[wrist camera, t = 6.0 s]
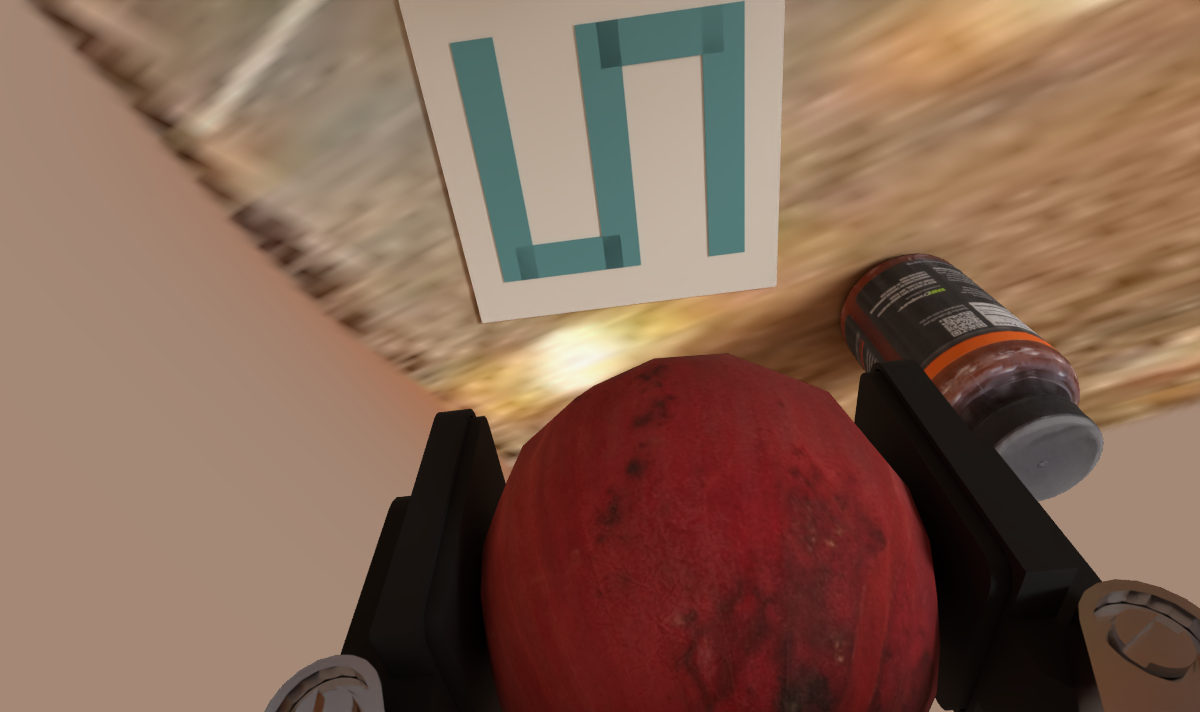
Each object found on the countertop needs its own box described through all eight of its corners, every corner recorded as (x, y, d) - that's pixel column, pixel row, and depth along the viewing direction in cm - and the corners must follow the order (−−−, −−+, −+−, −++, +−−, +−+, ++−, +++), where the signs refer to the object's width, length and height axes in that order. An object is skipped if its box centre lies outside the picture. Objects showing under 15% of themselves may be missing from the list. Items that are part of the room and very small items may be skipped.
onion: (576, 209, 10) (566, 821, 3) (889, 327, 11) (1367, 935, 4) (472, 473, 13) (351, 1077, 6) (729, 541, 14) (866, 1099, 7)
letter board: (396, -13, 23) (394, -13, 23) (785, -70, 22) (787, -71, 22) (482, 321, 31) (482, 324, 30) (775, 284, 30) (776, 287, 30)
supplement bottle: (886, 376, 33) (1011, 549, 24) (810, 315, 31) (914, 479, 22) (986, 294, 31) (1169, 451, 21) (910, 223, 29) (1077, 361, 19)
